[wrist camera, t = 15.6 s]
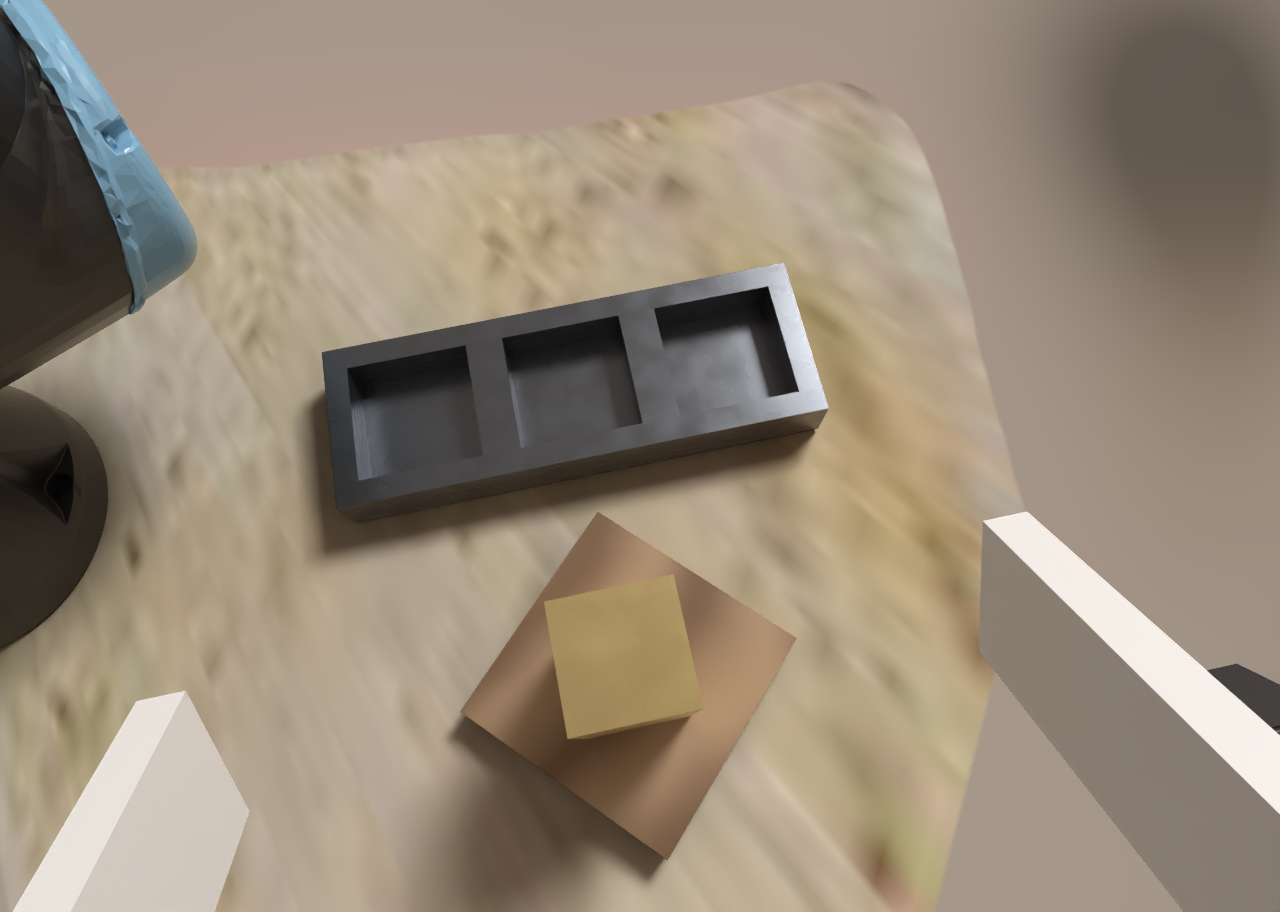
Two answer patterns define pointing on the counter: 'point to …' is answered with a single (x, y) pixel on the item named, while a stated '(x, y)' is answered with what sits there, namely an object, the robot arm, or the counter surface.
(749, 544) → the counter surface
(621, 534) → the coaster
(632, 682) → the golden rectangular block
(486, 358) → the compartment tray
